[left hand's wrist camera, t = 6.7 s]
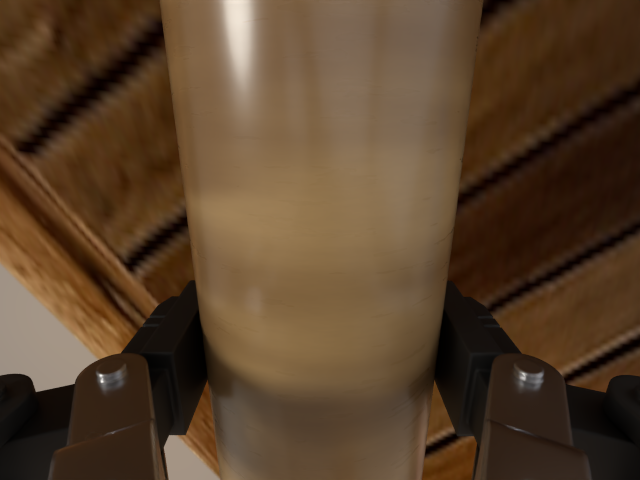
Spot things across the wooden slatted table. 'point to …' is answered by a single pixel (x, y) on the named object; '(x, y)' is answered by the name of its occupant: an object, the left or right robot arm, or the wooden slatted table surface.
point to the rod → (321, 221)
